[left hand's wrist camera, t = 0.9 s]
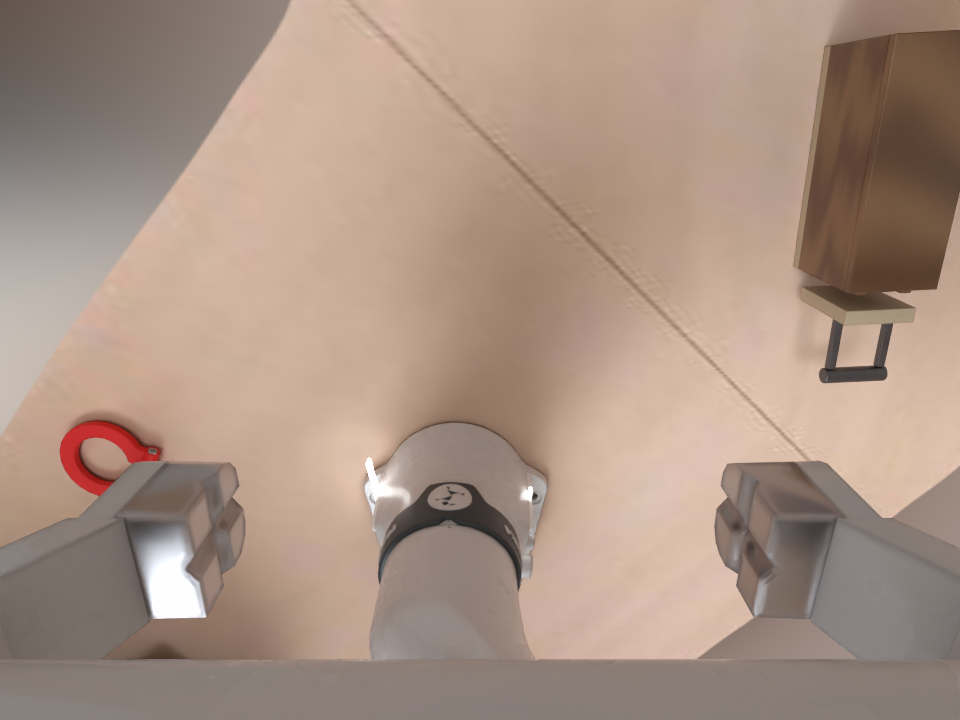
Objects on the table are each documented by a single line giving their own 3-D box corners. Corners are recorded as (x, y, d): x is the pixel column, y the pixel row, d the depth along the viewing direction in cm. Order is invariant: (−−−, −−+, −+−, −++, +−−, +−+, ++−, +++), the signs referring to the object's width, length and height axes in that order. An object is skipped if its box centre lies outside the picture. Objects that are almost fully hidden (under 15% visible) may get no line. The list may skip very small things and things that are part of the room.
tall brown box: (868, 262, 55) (937, 289, 46) (793, 266, 55) (848, 294, 47) (910, 41, 48) (999, 27, 40) (824, 46, 48) (896, 33, 40)
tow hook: (59, 472, 63) (146, 506, 64) (-46, 552, 51) (62, 593, 52) (76, 405, 60) (167, 443, 61) (-32, 474, 48) (83, 519, 49)
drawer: (849, 357, 57) (898, 389, 50) (791, 359, 57) (832, 392, 51) (898, 96, 49) (965, 93, 42) (830, 100, 49) (885, 98, 42)
